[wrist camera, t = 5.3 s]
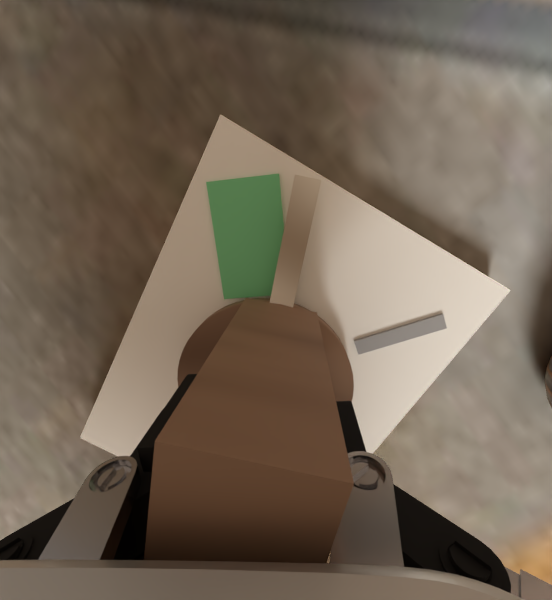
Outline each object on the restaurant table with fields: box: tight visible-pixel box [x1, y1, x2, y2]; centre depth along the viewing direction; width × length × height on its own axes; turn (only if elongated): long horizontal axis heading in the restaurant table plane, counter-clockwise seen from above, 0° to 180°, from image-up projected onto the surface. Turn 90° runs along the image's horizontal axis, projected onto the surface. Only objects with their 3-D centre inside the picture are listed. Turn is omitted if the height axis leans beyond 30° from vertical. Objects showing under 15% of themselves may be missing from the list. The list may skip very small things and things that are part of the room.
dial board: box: [80, 114, 511, 457], centre depth 15 cm, size 18×14×2 cm
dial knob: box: [144, 175, 354, 563], centre depth 9 cm, size 13×8×9 cm, turn 169°
